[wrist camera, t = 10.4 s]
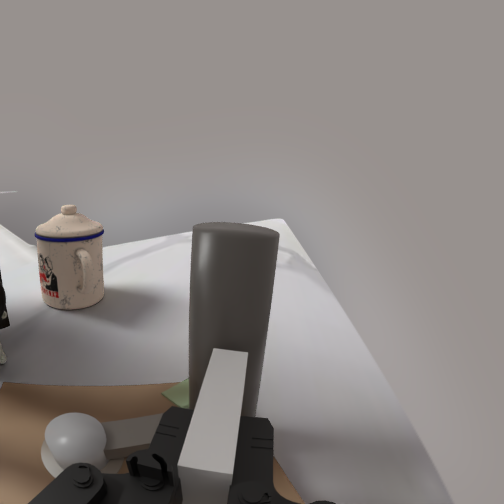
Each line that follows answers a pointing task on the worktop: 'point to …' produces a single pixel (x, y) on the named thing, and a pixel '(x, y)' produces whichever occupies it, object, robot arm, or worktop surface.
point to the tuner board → (77, 401)
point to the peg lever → (194, 337)
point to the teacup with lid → (70, 260)
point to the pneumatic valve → (3, 318)
